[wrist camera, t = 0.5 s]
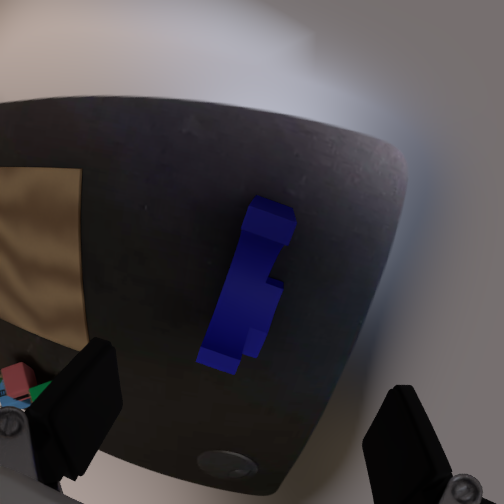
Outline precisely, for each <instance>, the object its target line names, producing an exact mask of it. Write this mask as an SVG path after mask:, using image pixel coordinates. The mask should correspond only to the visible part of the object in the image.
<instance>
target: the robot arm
mask: <svg viewBox="0 0 504 504" xmlns="http://www.w3.org/2000/svg"><path fill="white" fill-rule="evenodd" d="M122 405H123V400H122V394H121V388H120V381H119V374H118V367H117V359H116V350H115V348H114V347H113V346H112V345H111V342H109V341H107V340H103V339H100V338H97V337H94V338H93V339H92V340H91V341H90V342H89V343H88V344H87V345H86V346H85V347H84V348H83V349H82V350H81V351H80V352H79V353H78V354H77V355H76V356H75V357H74V358H73V359H72V361H71V362H70V363H69V364H68V365H67V366H66V367H65V368H64V369H63V370H62V371H61V372H60V373H59V374H58V375H57V376H56V377H55V378H54V379H53V381H52V382H51V383H50V384H49V385H48V386H47V387H46V388H45V389H44V390H43V392H42V393H41V394H40V395H39V396H38V397H37V398H36V399H35V400H34V402H33V403H32V404H31V405H30V406H29V407H28V408H27V409H26V411H25V412H23V411H22V410H21V409H19V408H17V407H14V406H5V407H1V408H0V504H83V503H81V502H79V501H77V500H75V499H72V498H70V497H68V496H66V495H64V494H63V491H62V488H61V485H60V481H61V479H62V477H63V476H65V477H67V478H69V479H71V480H73V481H76V479H77V477H78V475H79V476H82V475H84V473H85V472H86V470H87V468H88V466H89V464H90V463H91V461H92V459H93V457H94V456H95V454H96V452H97V451H98V449H99V447H100V445H101V444H102V442H103V440H104V439H105V437H106V435H107V433H108V432H109V430H110V428H111V427H112V425H113V423H114V421H115V420H116V418H117V416H118V415H119V413H120V411H121V409H122ZM362 448H363V452H364V457H365V461H366V466H367V471H368V475H369V480H370V485H371V489H372V495H373V500H374V504H496V503H494V502H491V501H489V500H487V499H484V498H483V497H482V493H483V490H482V486H481V484H480V482H479V481H478V480H477V479H476V478H475V477H473V476H471V475H468V474H458V475H455V476H454V477H453V475H452V473H451V472H452V469H451V467H450V464H449V462H448V460H447V457H446V455H445V453H444V451H443V448H442V446H441V444H440V442H439V440H438V437H437V435H436V433H435V431H434V429H433V427H432V424H431V422H430V420H429V418H428V416H427V414H426V412H425V410H424V408H423V406H422V404H421V402H420V400H419V398H418V396H417V394H416V392H415V390H414V388H413V387H412V386H411V385H396V386H394V388H393V389H390V390H389V391H388V393H387V395H386V397H385V399H384V401H383V403H382V405H381V407H380V409H379V411H378V413H377V415H376V417H375V419H374V421H373V422H372V424H371V426H370V428H369V430H368V431H367V433H366V435H365V437H364V439H363V443H362Z"/></svg>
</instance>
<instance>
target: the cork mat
mask: <svg viewBox="0 0 504 504" xmlns="http://www.w3.org/2000/svg"><path fill="white" fill-rule="evenodd" d="M81 183H82V169H76V168H49V167H0V318H1V319H3V320H5V321H7V322H10V323H12V324H14V325H16V326H18V327H20V328H23V329H25V330H27V331H30V332H32V333H34V334H37V335H39V336H41V337H44V338H46V339H49V340H51V341H54V342H56V343H59V344H61V345H64V346H67V347H69V348H72V349H75V350H78V351H81V350H82V349H83V348H84V347H85V346H86V345H87V344H88V343H89V335H88V328H87V320H86V312H85V302H84V292H83V279H82V262H81Z"/></svg>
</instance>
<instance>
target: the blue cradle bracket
mask: <svg viewBox="0 0 504 504" xmlns="http://www.w3.org/2000/svg"><path fill="white" fill-rule="evenodd" d="M296 224H297V221H296V218H295V214H294V211H293V208H291V207H288V206H286V205H283V204H280V203H278V202H275V201H272V200H269V199H267V198H264V197H261V196H258V195H256V196H255V197H254V199H253V200H252V202H251V203H250V205H249V207H248V209H247V212H246V215H245V218H244V221H243V224H242V226H241V229H242V231H241V235H240V239H239V242H238V245H237V248H236V251H235V254H234V257H233V260H232V263H231V266H230V269H229V272H228V275H227V278H226V280H225V283H224V286H223V289H222V292H221V294H220V297H219V300H218V303H217V306H216V308H215V311H214V314H213V316H212V319H211V322H210V324H209V327H208V330H207V332H206V335H205V337H204V340H203V342H202V345H201V347H200V350H199V354H198V357H197V360H196V362H199V363H201V364H204V365H207V366H210V367H212V368H215V369H218V370H221V371H224V372H227V373H230V374H233V375H235V372H236V370H237V368H238V365H239V363H240V361H241V356H242V354H245V355H248V356H251V357H254V358H257V356H258V354H259V351H260V349H261V347H262V345H263V343H264V341H265V338H266V336H267V334H268V331H269V328H270V324H271V321H272V318H273V315H274V313H275V310H276V307H277V304H278V302H279V299H280V297H281V294H282V292H283V282H281V281H279V280H276V279H273V278H270V277H268V276H269V273H270V271H271V269H272V266H273V264H274V262H275V260H276V258H277V256H278V254H279V252H280V250H281V249H282V247H283V246H284V245H287V246H288V245H289V242H290V240H291V237H292V235H293V232H294V230H295V227H296Z"/></svg>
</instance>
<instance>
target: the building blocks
mask: <svg viewBox="0 0 504 504" xmlns="http://www.w3.org/2000/svg"><path fill="white" fill-rule="evenodd" d="M0 372H1V375H0V402H1V406H0V407H5V406H14V407H17V408H19V409H23V408H26V407H29V406H30V405H31V403H32V402H34V400H35V399H36V398H37V397H38V396H39V395H40V394H41V393H42V392H43V390H44V389H45V388H46V387H47V386H48V385H49V384H50V383H51V382H52V381H49V382H46V383H43V384H40V385H38V383H37V380H36V377H35V373H34V370H33V369H32V368H31V367H29V366H28V365H26V364H25V363H23V362H20V363H17V364H14V365H11V366H8V367H6V368H3V369H2V370H1V371H0ZM2 377H3V379H2ZM30 398H31V399H30ZM30 400H32V401H30Z"/></svg>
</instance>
